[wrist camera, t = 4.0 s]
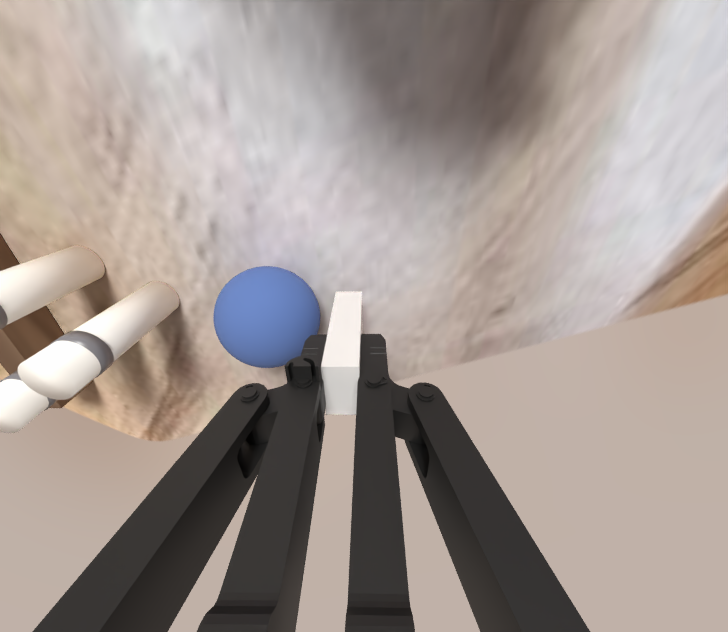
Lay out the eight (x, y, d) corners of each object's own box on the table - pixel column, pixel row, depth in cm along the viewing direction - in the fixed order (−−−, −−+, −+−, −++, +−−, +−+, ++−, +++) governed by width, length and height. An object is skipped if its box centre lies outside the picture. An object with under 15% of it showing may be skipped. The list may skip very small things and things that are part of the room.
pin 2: (139, 323, 22) (24, 413, 15) (131, 345, 23) (21, 439, 16) (103, 306, 22) (-35, 392, 14) (97, 329, 23) (-34, 420, 15)
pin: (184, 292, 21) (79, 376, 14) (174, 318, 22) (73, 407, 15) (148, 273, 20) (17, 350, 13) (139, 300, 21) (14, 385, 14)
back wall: (-39, 172, 17) (-112, 179, 15) (93, 380, 26) (61, 408, 23) (-72, 173, 17) (-150, 179, 15) (70, 380, 26) (36, 407, 23)
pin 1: (108, 258, 20) (-51, 328, 12) (102, 286, 21) (-48, 366, 14) (67, 237, 19) (-126, 297, 12) (63, 267, 20) (-117, 340, 13)
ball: (221, 360, 13) (171, 313, 17) (296, 400, 18) (245, 357, 21) (305, 258, 15) (243, 235, 18) (354, 320, 19) (297, 292, 23)
